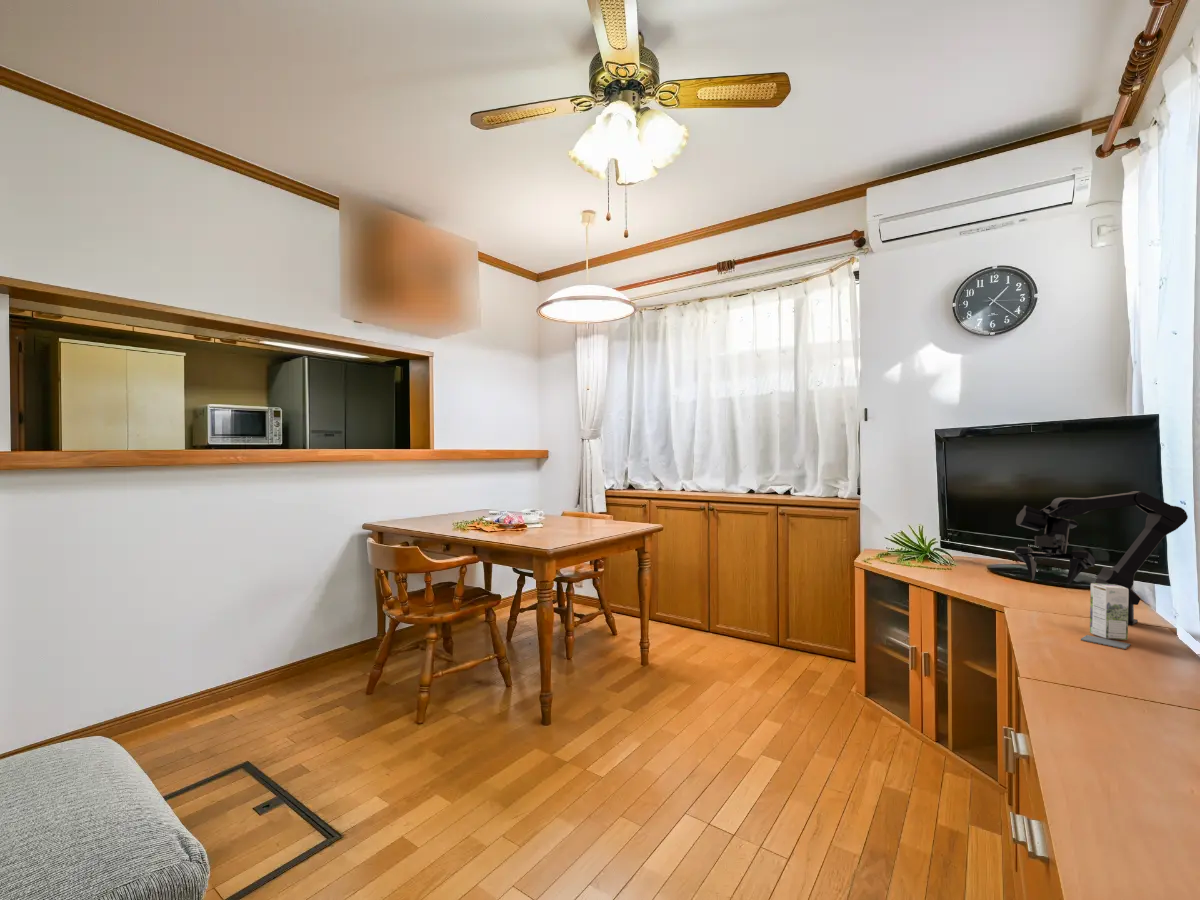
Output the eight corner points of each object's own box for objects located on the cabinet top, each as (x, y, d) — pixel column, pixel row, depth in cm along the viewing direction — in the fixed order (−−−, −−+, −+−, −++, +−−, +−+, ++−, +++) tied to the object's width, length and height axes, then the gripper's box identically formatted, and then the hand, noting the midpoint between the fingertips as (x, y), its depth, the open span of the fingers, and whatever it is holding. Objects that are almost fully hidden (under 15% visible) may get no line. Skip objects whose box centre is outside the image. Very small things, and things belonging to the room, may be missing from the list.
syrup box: (1111, 634, 155) (1111, 583, 155) (1129, 640, 149) (1129, 587, 149) (1089, 633, 155) (1089, 582, 156) (1106, 639, 149) (1106, 586, 150)
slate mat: (1086, 636, 153) (1086, 634, 153) (1130, 645, 146) (1130, 643, 146) (1080, 640, 150) (1080, 638, 150) (1125, 649, 143) (1125, 648, 143)
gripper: (1010, 523, 176) (1002, 567, 171) (1083, 525, 160) (1077, 574, 155) (1025, 538, 181) (1018, 581, 176) (1098, 541, 165) (1092, 589, 160)
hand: (1049, 581), depth 167 cm, fingers open, 9 cm apart
